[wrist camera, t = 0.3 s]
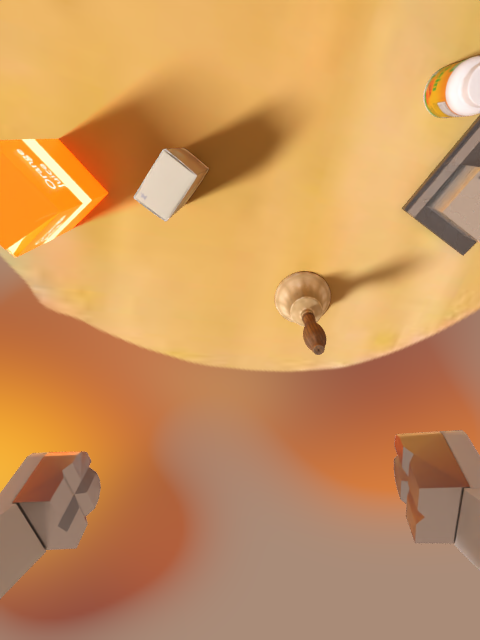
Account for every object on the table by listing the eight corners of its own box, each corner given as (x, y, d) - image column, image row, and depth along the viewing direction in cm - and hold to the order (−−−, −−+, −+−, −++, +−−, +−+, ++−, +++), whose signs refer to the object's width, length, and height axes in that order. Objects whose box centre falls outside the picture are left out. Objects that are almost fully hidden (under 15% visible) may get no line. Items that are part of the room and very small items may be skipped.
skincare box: (184, 206, 53) (164, 225, 42) (157, 186, 52) (130, 200, 41) (211, 166, 51) (198, 175, 40) (184, 144, 50) (163, 147, 39)
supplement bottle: (447, 54, 44) (493, 35, 36) (479, 85, 46) (532, 74, 37) (412, 99, 46) (448, 91, 38) (444, 127, 48) (486, 126, 39)
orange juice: (73, 229, 55) (-17, 275, 37) (22, 178, 52) (-102, 201, 34) (109, 192, 53) (32, 223, 35) (58, 137, 50) (-54, 139, 32)
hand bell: (283, 265, 56) (293, 310, 42) (338, 279, 57) (366, 328, 42) (268, 315, 60) (271, 373, 45) (319, 328, 60) (339, 389, 46)
